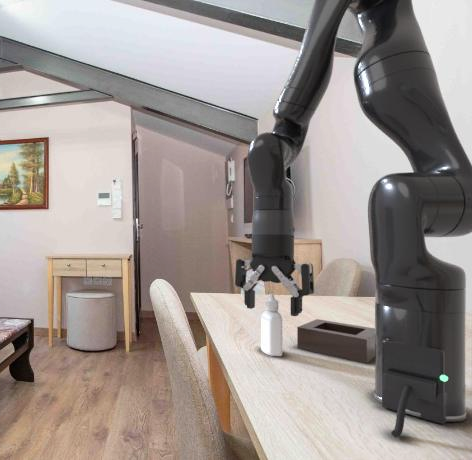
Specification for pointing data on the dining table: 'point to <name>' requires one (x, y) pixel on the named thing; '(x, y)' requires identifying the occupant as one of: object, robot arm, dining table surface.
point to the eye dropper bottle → (271, 328)
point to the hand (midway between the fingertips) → (271, 311)
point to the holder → (337, 340)
